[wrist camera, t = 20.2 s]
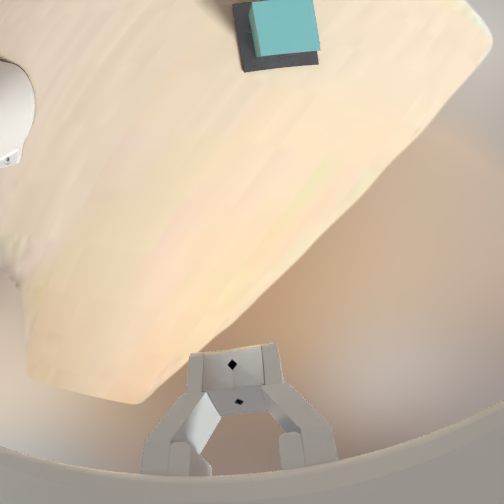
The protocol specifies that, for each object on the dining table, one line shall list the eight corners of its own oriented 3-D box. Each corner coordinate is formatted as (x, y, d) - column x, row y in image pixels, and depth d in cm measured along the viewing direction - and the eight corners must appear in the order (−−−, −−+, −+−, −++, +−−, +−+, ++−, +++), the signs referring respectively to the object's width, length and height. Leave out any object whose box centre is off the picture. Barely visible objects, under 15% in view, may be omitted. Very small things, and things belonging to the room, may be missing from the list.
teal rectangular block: (255, 57, 32) (261, 55, 25) (248, 14, 29) (252, 2, 22) (302, 52, 32) (320, 50, 25) (295, 10, 29) (312, -3, 22)
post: (244, 72, 34) (246, 74, 28) (232, 5, 29) (231, -7, 23) (317, 64, 33) (334, 65, 27) (307, -2, 28) (322, -14, 22)
